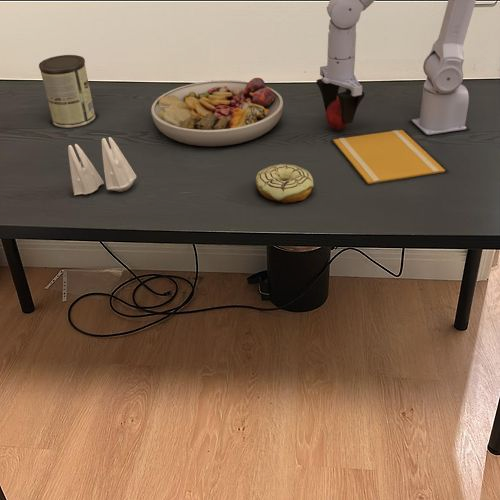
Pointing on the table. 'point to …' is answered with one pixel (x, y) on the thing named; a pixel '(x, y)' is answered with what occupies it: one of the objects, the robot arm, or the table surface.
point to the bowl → (218, 112)
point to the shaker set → (88, 178)
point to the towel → (387, 156)
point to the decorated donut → (284, 183)
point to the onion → (335, 115)
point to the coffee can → (67, 90)
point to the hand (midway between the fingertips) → (338, 116)
